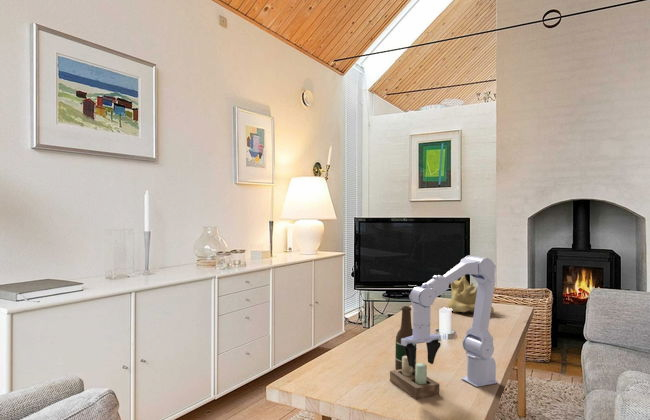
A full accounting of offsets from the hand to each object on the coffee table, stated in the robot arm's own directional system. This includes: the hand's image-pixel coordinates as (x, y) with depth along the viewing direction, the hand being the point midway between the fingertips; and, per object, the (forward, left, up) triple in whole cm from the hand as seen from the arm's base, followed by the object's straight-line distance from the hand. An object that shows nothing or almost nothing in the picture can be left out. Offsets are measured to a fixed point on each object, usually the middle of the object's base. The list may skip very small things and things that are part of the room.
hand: (421, 364), depth 148 cm
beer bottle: (-6, -18, -9) cm, 21 cm away
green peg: (0, 0, -9) cm, 9 cm away
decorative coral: (-92, -82, -9) cm, 124 cm away
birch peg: (0, -8, -9) cm, 12 cm away
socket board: (0, -4, -9) cm, 10 cm away
